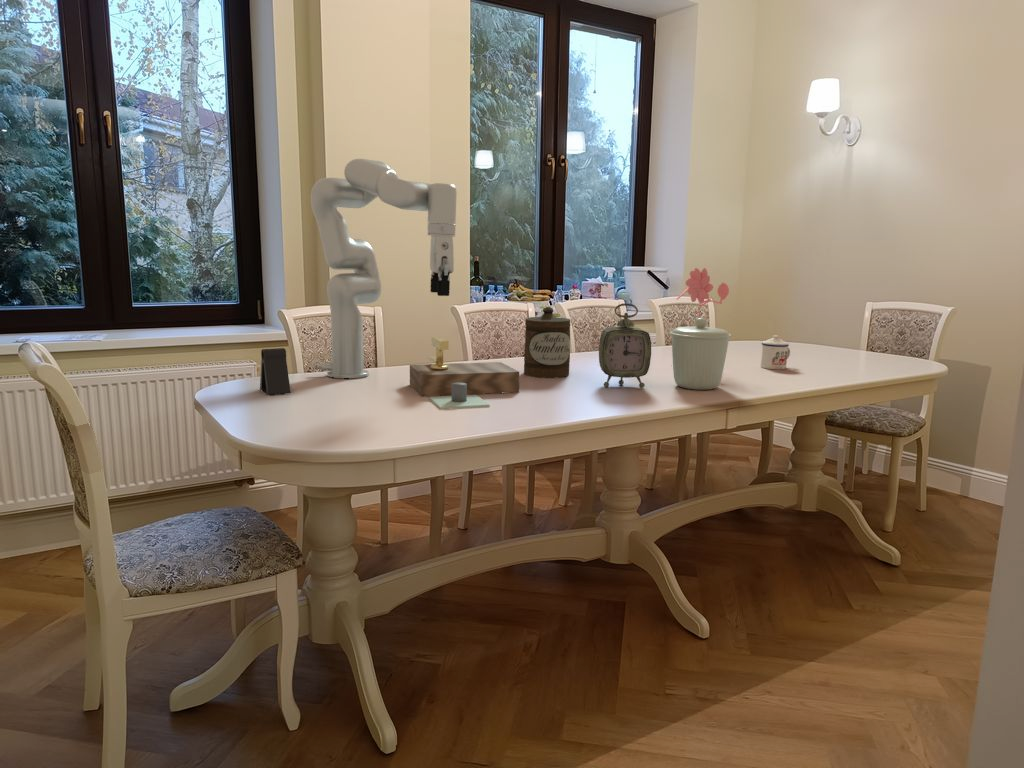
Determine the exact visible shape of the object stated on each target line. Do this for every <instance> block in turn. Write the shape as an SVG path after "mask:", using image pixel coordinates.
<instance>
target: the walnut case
mask: <svg viewBox="0 0 1024 768" xmlns="http://www.w3.org/2000/svg"><path fill="white" fill-rule="evenodd" d="M431 365H436V363H427V364H426V363H425V364H424V363H423V364H419V363H417V364H409V386H410V387H411V388H412V389H414V391H415V392H417V393H418V395H420V397H421V398H422V397H424V396H426V397H439V396H440V395H441V396H442V395H450V396H451V391H452V383H466V384H467V394H474V395H486V394H485V393H497V394H503V393H502V392H519V393H520V371H519V370H516V369H515V368H513V367H511V366H509V365H507V364H505V363H503V362H501V361H493V362H457V363H443V365H448V366H449V369H447V370H433V369H431Z"/></svg>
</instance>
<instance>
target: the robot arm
mask: <svg viewBox="0 0 1024 768" xmlns="http://www.w3.org/2000/svg"><path fill="white" fill-rule="evenodd" d="M343 171H344V172H343V173H344V178H342V177H324V178H319V180H317V181H315V183H314V185H313V186H312V189H311V192H310V207H311V210H312V214H313V216H314V218H315V221H316V224H317V228H318V230H319V236H320V241H321V246H322V250H323V254H324V258H325V262H326V264H327V266H328V267H329V268H331V269H332V270H334V271H335V270H337V271H354V273H353V272H348V273H338V274H335V275H333V276H332V277H331V278H329V280H328V282H327V285H326V294H327V298H328V303H329V309H330V325H331V329H330V330H331V359H330V362H327V363H316V369H317V370H316V371H320V370H321V371H327V374H326V375H327V377H329V378H332V377H334V379H344V378H349V379H360V378H365V377H368V376H369V370H366V369H364V331H363V330H364V328H363V327H364V325H363V324H364V323H363V315H362V313H361V310H360V309H359V307H358V305H363V304H366V305H367V304H373V303H375V302H377V301H378V300H379V298H380V297H381V294H382V284H381V283H382V282H381V279H380V278H381V277H380V272H379V269H378V268H379V267H378V263H377V258H376V255H375V251H374V249H373V247H372V246H371V245H370V243H369V242H368V241H366V240H365V239H360V238H358V239H357V238H351V236H350V234H349V229H348V224H347V222H346V220H345V218H344V217H343V215H342V214H341V213H340V211H339V210H338V209H337V208H346V209H361V208H364V207H366V206H368V205H369V204H370V203H372V202H374V201H375V199H377V198H379V200H380V201H381V202H383V203H384V204H386V205H390V206H392V207H395V208H396V209H401V210H404V211H405V210H406V211H419V212H427V235H426V236H431V237H430V249H429V250H430V251H429V252H430V253H429V269H430V271H431V274H430V293H437V294H436V295H437V296H439V297H449V296H450V280H451V278H450V274H453V273H454V268H455V267H454V265H455V264H454V239H453V238H454V237H456V222H457V219H456V217H457V216H456V215H457V195H458V194H457V187H456V186H455V185H454V184H450V183H441V182H440V183H438V182H436V183H434V182H433V183H428V182H427V183H426V182H417V181H411V180H409V181H408V180H404V179H401V178H399V177H398V174H397V172H396V171H394V169H392V168H390V167H389V165H388V164H387V163H386V162H383V161H380V160H373V159H365V158H356V159H352V160H350V161H349V162H348V163H346V165H345V166H344V170H343Z"/></svg>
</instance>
